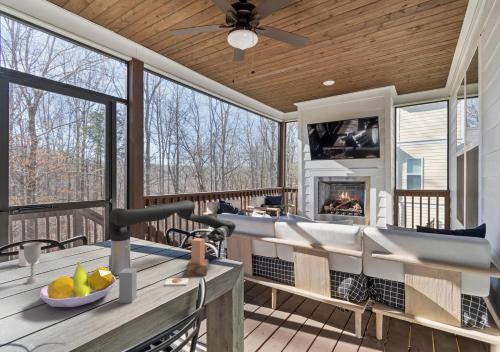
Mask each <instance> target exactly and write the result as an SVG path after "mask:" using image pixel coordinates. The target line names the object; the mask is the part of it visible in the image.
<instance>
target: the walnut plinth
mask: <svg viewBox="0 0 500 352" xmlns="http://www.w3.org/2000/svg"><path fill="white" fill-rule="evenodd" d="M208 272H209V259H207V258H206V259H205V261H204V262H203V263H201V264H192V263H191V259H189V260H188V262H187V264H186V277H187V276H207V275H208Z"/></svg>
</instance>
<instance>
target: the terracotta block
mask: <svg viewBox="0 0 500 352" xmlns="http://www.w3.org/2000/svg"><path fill="white" fill-rule="evenodd" d="M190 243H191V244H190V245H191V246H190V247H191V250H190V253H191V255H190V256H191V259H190V260H191V263H192V264H201V263H203V262H204V261H205V258H206V257H205V247H206V245H205V243H206V241H205V239H200V238H199V237H198V238H197V237H195V238H193V239H191V242H190Z"/></svg>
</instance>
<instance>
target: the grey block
mask: <svg viewBox="0 0 500 352" xmlns="http://www.w3.org/2000/svg"><path fill="white" fill-rule="evenodd" d="M137 270H138V268H137V267H136V268H135V267H133V268H131V267H130V268H126V269H123V270H122V271H121V272H120V273H119V275H118V280H119V281H118V286H119V287H118V304H133V302H134V301H135V300H136V299H137V294H138V293H137V289H138V288H137V285H138V284H137V283H138V282H137V277H138V275H137V274H138V273H137V272H138V271H137Z"/></svg>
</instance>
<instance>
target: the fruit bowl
mask: <svg viewBox="0 0 500 352" xmlns="http://www.w3.org/2000/svg"><path fill="white" fill-rule="evenodd" d="M117 282H118V281H117V279H116V277H115V275H112V273H111V272H110V271H109V269H107V268H106V267H105V266H102V267H96V268H95V269H94V270H93V271H92V272H91V273H86V270H84V268H83V266H82V265H81V262H80V261H78V262H77V265H76V268H75V270H74V273H73V275H72V276H58V277H57V278H55V279H54V280H53V281H51V282H50V283H48V285H46V286H44V287H42V288H41V289H40V294H39V297H40V298H41V300H43V302H45V303H46V304H47V305H49V306H50V307H54V308H56V307H59V308H77V307H80V306H83V305H86V304H90V303H94V302H95V301H98V300H99V299H101V298H102V297H105V296H107V295H108V294H111V291H112V290H113V288H114V286H115V285H116V283H117Z"/></svg>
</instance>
